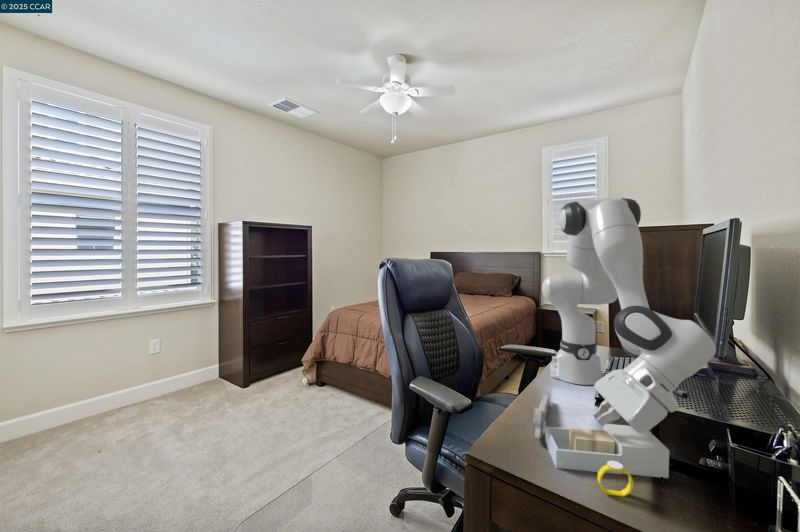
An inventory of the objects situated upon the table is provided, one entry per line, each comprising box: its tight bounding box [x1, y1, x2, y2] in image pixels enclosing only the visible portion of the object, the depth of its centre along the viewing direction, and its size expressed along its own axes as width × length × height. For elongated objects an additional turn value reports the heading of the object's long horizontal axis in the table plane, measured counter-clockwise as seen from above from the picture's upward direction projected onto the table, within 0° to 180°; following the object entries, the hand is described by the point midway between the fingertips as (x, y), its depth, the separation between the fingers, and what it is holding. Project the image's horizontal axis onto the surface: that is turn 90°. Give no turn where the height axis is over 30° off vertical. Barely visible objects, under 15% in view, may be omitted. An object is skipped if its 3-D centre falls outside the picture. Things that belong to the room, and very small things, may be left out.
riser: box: [602, 423, 670, 479], centre depth 79 cm, size 10×9×6 cm
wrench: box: [532, 393, 551, 440], centre depth 98 cm, size 8×2×30 cm
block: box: [568, 427, 615, 454], centre depth 81 cm, size 5×5×8 cm
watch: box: [596, 461, 635, 498], centre depth 69 cm, size 6×3×6 cm, turn 78°
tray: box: [544, 426, 622, 475], centre depth 81 cm, size 11×13×4 cm
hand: (597, 420), depth 80 cm, fingers closed
